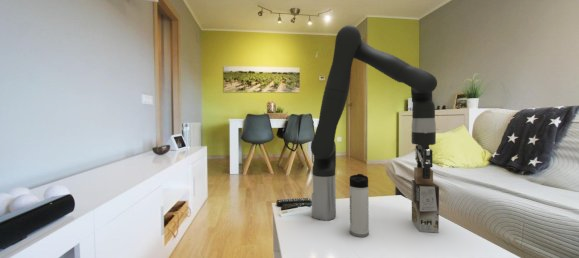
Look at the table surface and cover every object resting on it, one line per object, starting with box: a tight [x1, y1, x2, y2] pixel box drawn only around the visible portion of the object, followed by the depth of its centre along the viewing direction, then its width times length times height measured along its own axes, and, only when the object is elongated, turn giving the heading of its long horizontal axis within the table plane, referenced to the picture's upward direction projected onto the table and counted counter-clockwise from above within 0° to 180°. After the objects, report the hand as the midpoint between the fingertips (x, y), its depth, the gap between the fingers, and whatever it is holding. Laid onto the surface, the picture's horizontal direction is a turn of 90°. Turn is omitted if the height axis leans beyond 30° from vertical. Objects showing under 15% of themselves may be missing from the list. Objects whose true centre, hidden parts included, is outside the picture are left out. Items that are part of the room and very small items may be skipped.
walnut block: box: [413, 166, 434, 185], centre depth 85 cm, size 5×5×5 cm
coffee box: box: [411, 179, 440, 233], centre depth 85 cm, size 9×6×16 cm
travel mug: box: [349, 173, 370, 238], centre depth 81 cm, size 6×7×20 cm
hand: (423, 175), depth 85 cm, fingers open, 8 cm apart
